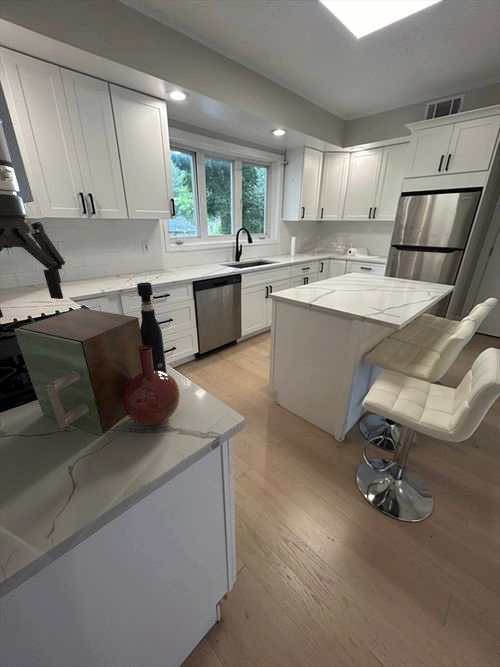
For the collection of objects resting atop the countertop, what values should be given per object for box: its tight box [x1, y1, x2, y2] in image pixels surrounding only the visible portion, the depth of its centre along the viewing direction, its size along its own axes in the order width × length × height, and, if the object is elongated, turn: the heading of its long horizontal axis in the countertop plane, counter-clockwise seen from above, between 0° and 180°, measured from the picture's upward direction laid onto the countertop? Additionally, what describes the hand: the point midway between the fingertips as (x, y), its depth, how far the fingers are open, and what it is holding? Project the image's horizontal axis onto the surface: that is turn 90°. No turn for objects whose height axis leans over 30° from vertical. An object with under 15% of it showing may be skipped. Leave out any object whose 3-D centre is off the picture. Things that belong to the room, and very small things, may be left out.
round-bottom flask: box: [123, 345, 181, 427], centre depth 66 cm, size 13×13×20 cm
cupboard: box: [18, 307, 143, 434], centre depth 71 cm, size 16×20×24 cm
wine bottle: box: [136, 282, 168, 374], centre depth 84 cm, size 6×6×30 cm
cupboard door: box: [13, 327, 105, 437], centre depth 61 cm, size 7×20×24 cm, turn 68°
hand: (29, 306), depth 58 cm, fingers open, 13 cm apart
